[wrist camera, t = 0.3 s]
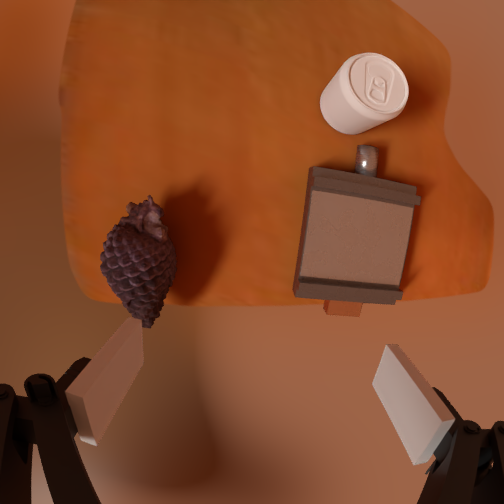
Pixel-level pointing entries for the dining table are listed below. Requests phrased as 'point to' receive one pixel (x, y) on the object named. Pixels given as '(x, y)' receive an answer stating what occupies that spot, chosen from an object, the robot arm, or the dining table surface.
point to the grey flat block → (353, 236)
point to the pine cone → (140, 261)
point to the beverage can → (364, 94)
